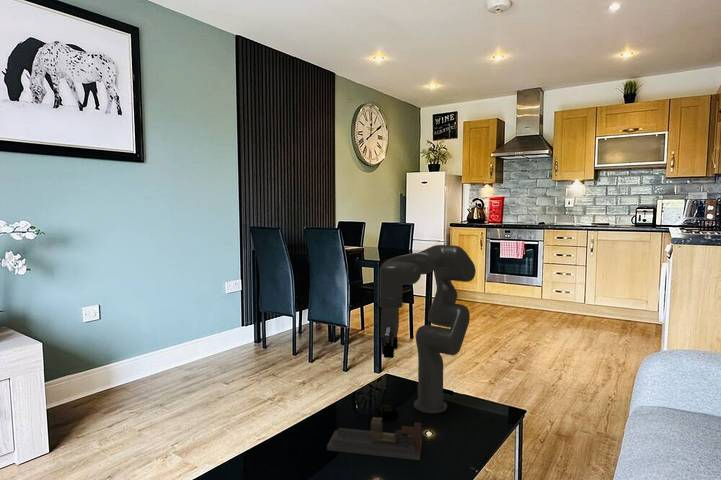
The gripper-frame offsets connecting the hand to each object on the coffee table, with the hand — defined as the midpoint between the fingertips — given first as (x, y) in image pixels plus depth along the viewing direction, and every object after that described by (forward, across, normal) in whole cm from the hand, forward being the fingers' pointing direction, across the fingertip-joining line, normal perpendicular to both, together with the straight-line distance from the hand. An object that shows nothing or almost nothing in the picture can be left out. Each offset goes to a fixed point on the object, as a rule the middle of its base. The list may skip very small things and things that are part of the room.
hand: (390, 352), depth 146 cm
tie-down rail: (+28, +8, -4) cm, 30 cm away
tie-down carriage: (+27, +8, +1) cm, 28 cm away
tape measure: (+29, -14, -3) cm, 32 cm away
